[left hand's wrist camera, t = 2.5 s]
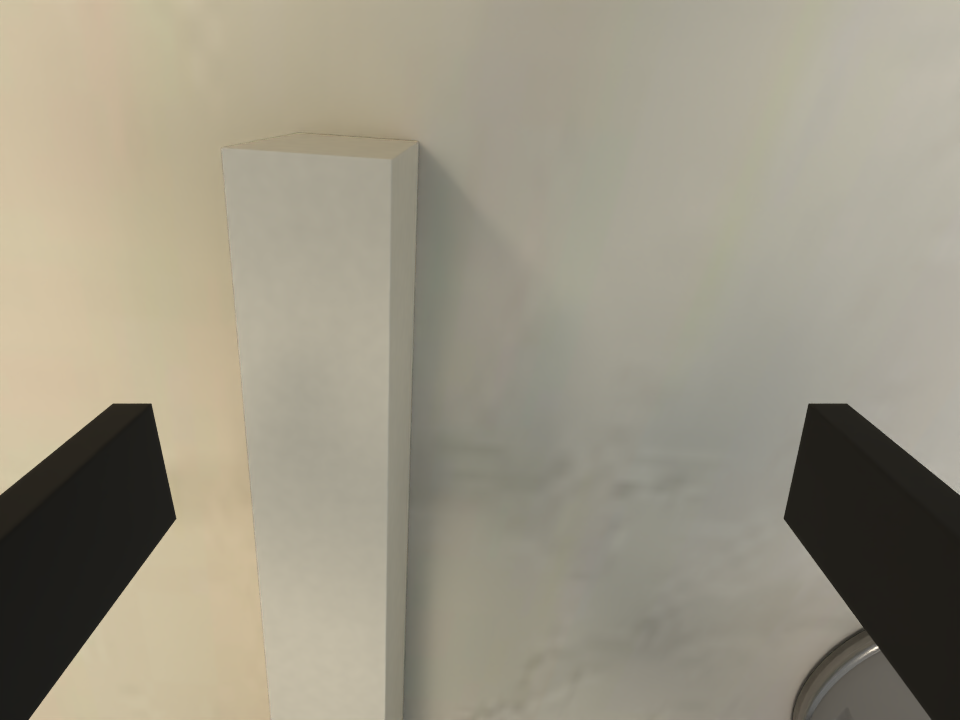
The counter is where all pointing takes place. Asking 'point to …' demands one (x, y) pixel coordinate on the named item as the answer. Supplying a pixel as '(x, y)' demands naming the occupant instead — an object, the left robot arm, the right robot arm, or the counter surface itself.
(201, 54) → the counter surface
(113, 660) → the counter surface
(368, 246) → the beam
